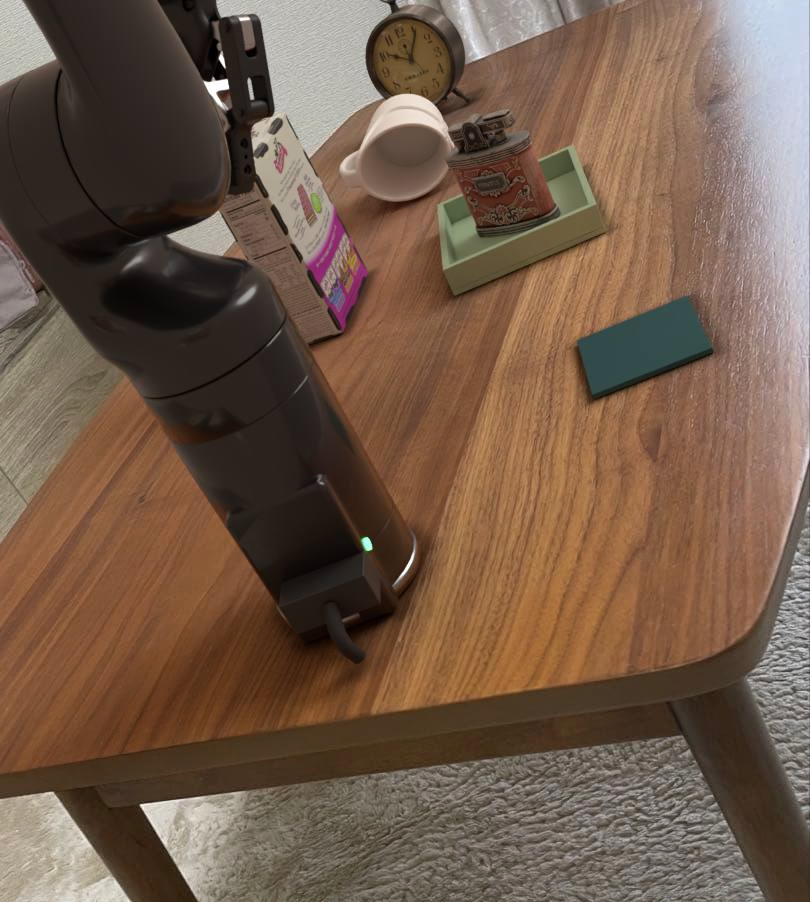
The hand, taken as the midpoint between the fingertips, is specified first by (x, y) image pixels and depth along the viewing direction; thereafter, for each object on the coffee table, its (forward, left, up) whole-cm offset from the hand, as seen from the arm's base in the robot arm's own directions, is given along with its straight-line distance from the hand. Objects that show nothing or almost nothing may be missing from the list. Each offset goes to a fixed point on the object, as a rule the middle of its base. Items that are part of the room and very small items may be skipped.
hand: (193, 191), depth 82 cm
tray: (+22, -17, -20) cm, 35 cm away
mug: (+45, -7, -20) cm, 50 cm away
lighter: (+22, -17, -20) cm, 35 cm away
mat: (-6, -23, -20) cm, 31 cm away
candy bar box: (+22, +1, -20) cm, 30 cm away
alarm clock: (+67, -11, -20) cm, 71 cm away
